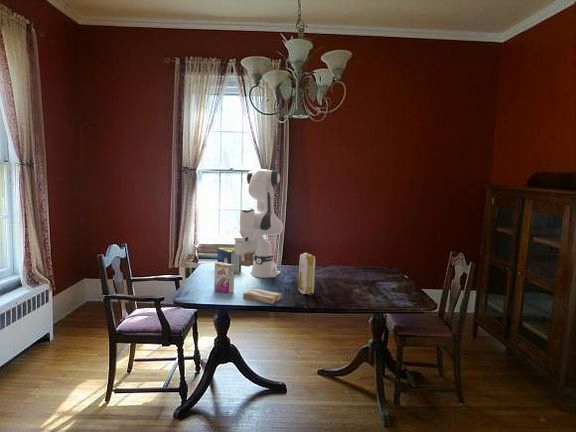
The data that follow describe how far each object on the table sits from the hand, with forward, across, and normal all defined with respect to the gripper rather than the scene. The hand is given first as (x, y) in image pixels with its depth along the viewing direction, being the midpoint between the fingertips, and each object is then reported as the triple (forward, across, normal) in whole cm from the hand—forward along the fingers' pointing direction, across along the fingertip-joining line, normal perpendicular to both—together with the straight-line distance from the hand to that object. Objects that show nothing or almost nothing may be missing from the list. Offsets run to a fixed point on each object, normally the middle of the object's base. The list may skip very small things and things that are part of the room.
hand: (246, 259), depth 249 cm
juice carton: (+19, -17, +31) cm, 41 cm away
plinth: (+19, +7, +15) cm, 25 cm away
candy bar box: (+19, +7, -11) cm, 23 cm away
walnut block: (+3, 0, 0) cm, 3 cm away
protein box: (+20, -37, -37) cm, 56 cm away
